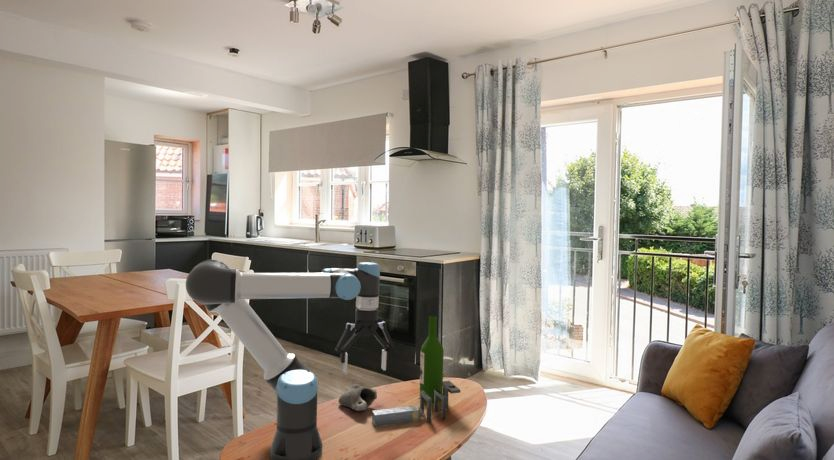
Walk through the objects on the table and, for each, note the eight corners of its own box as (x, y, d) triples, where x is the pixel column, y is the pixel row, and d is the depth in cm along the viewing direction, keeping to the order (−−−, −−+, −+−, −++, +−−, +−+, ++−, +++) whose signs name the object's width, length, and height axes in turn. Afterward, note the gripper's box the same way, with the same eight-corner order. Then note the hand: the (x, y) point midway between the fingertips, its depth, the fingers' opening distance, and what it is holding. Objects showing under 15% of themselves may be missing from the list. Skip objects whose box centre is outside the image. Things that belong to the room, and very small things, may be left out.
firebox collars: (428, 422, 168) (428, 394, 167) (417, 410, 178) (418, 383, 177) (460, 418, 172) (461, 390, 172) (448, 407, 182) (449, 380, 182)
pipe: (346, 431, 178) (374, 418, 171) (329, 416, 175) (357, 403, 168) (358, 395, 192) (385, 382, 185) (342, 381, 189) (369, 367, 182)
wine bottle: (416, 396, 192) (418, 315, 191) (437, 394, 194) (439, 314, 193) (423, 405, 183) (425, 319, 182) (445, 402, 186) (447, 318, 185)
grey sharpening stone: (375, 426, 164) (375, 415, 163) (371, 422, 167) (372, 410, 167) (424, 420, 170) (424, 409, 170) (420, 415, 174) (420, 404, 173)
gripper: (333, 311, 155) (330, 377, 156) (405, 309, 165) (402, 371, 165) (328, 307, 162) (325, 370, 162) (398, 305, 172) (395, 364, 172)
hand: (364, 370), depth 164 cm, fingers open, 13 cm apart
